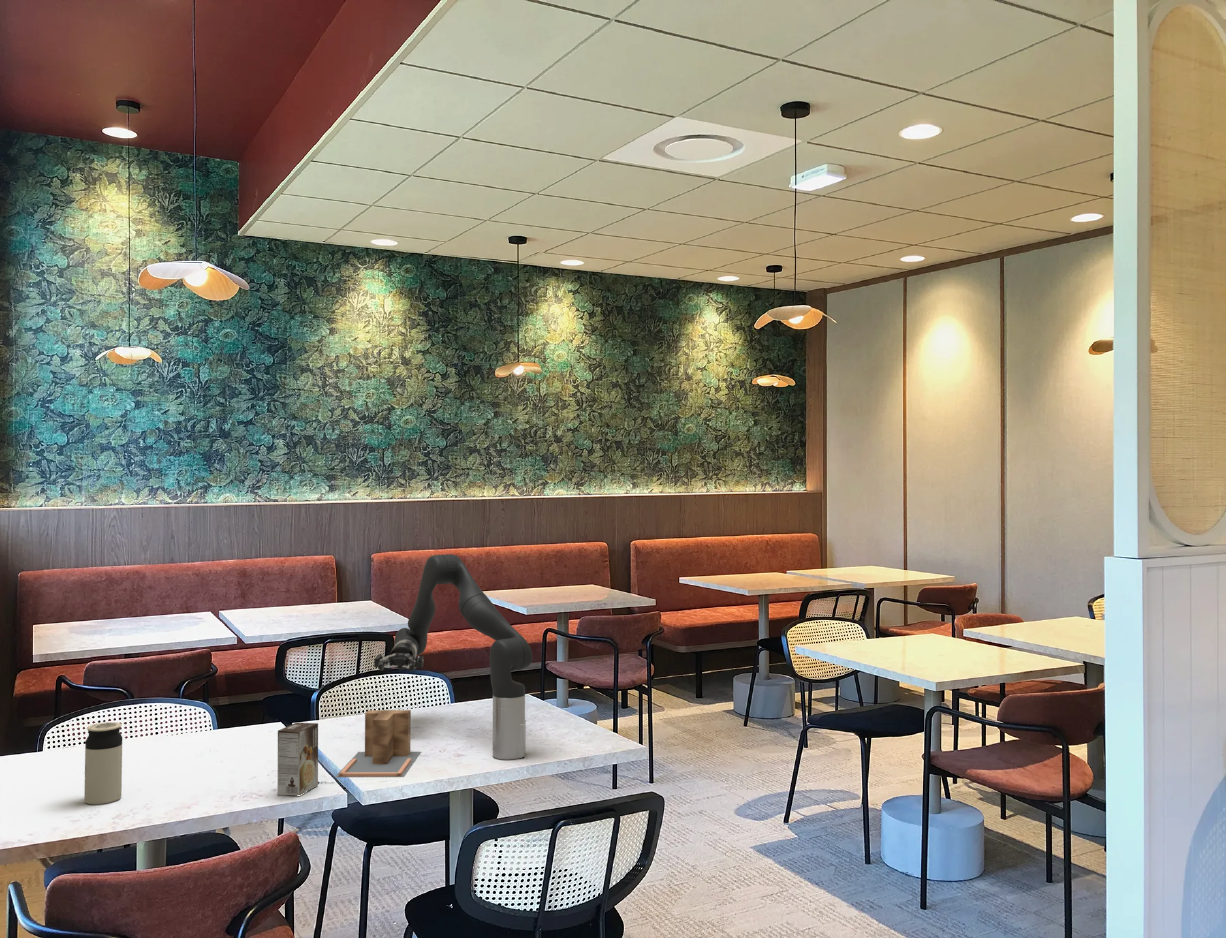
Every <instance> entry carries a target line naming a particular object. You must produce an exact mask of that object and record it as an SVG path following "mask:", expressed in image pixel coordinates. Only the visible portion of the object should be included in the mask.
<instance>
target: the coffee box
mask: <svg viewBox="0 0 1226 938" xmlns="http://www.w3.org/2000/svg"><path fill="white" fill-rule="evenodd" d="M317 785H318V786H319V723H318V722H317V723H316V722H295V723H292V724H290V725H287V726H285V727H283V728H281V729H279V730H277V789H276V791H277V796H284V795H301V794H303V793H305V792H306V791H308V790H310V789H311V790H312V788H313V789H314V787H315V788H316V787H318V786H317ZM311 790H310V791H311ZM308 792H309V791H308ZM306 793H307V792H306ZM306 793H305V794H306ZM303 795H304V794H303ZM301 796H302V795H301Z"/></svg>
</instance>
